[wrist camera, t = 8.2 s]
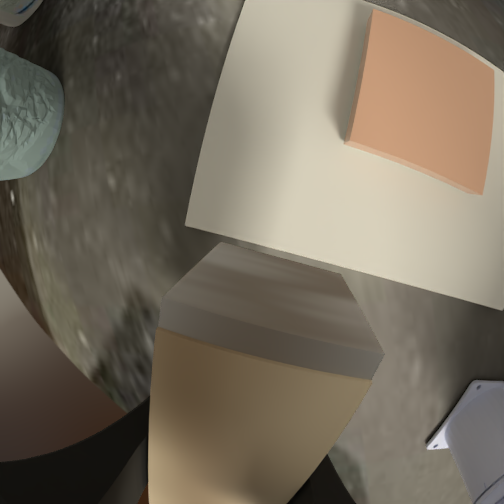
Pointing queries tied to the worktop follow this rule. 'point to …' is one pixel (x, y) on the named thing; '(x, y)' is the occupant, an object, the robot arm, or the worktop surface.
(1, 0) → the spray can
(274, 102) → the mat
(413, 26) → the tile
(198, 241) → the worktop surface
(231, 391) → the tan wooden block
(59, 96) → the teal cup
